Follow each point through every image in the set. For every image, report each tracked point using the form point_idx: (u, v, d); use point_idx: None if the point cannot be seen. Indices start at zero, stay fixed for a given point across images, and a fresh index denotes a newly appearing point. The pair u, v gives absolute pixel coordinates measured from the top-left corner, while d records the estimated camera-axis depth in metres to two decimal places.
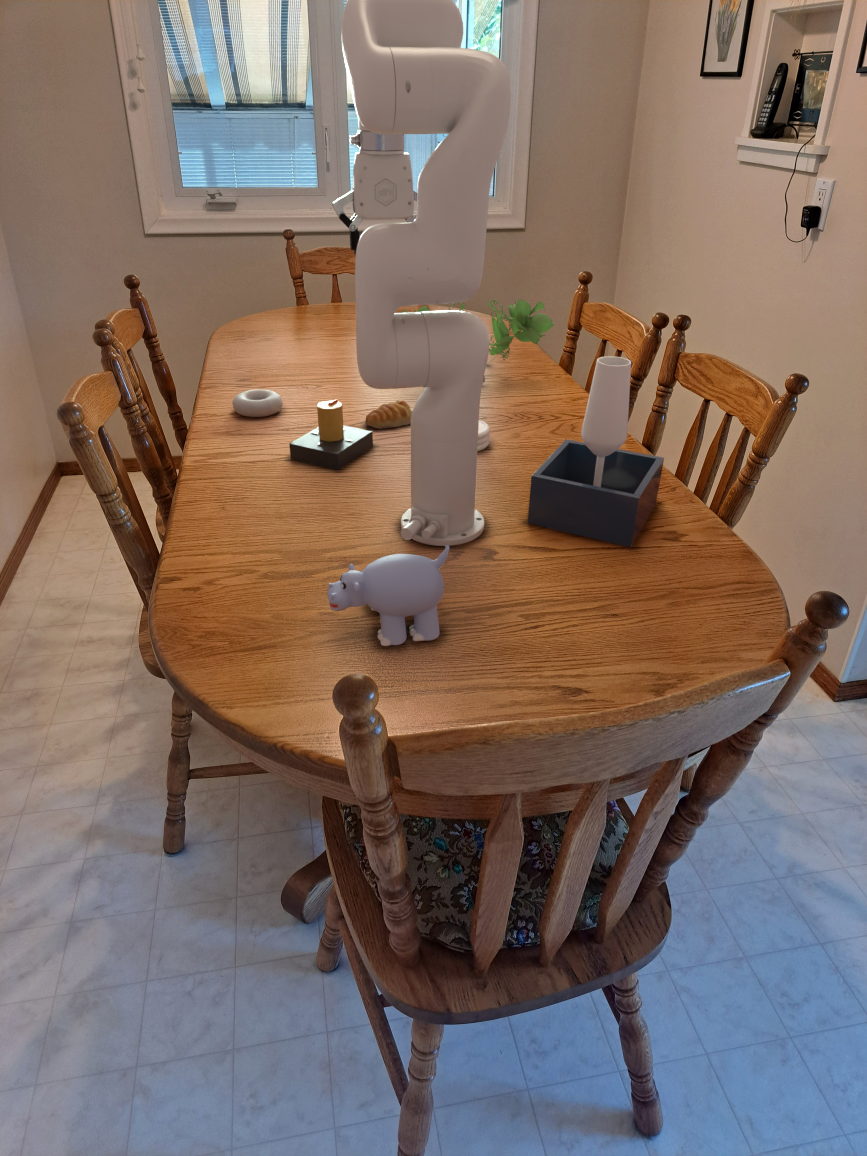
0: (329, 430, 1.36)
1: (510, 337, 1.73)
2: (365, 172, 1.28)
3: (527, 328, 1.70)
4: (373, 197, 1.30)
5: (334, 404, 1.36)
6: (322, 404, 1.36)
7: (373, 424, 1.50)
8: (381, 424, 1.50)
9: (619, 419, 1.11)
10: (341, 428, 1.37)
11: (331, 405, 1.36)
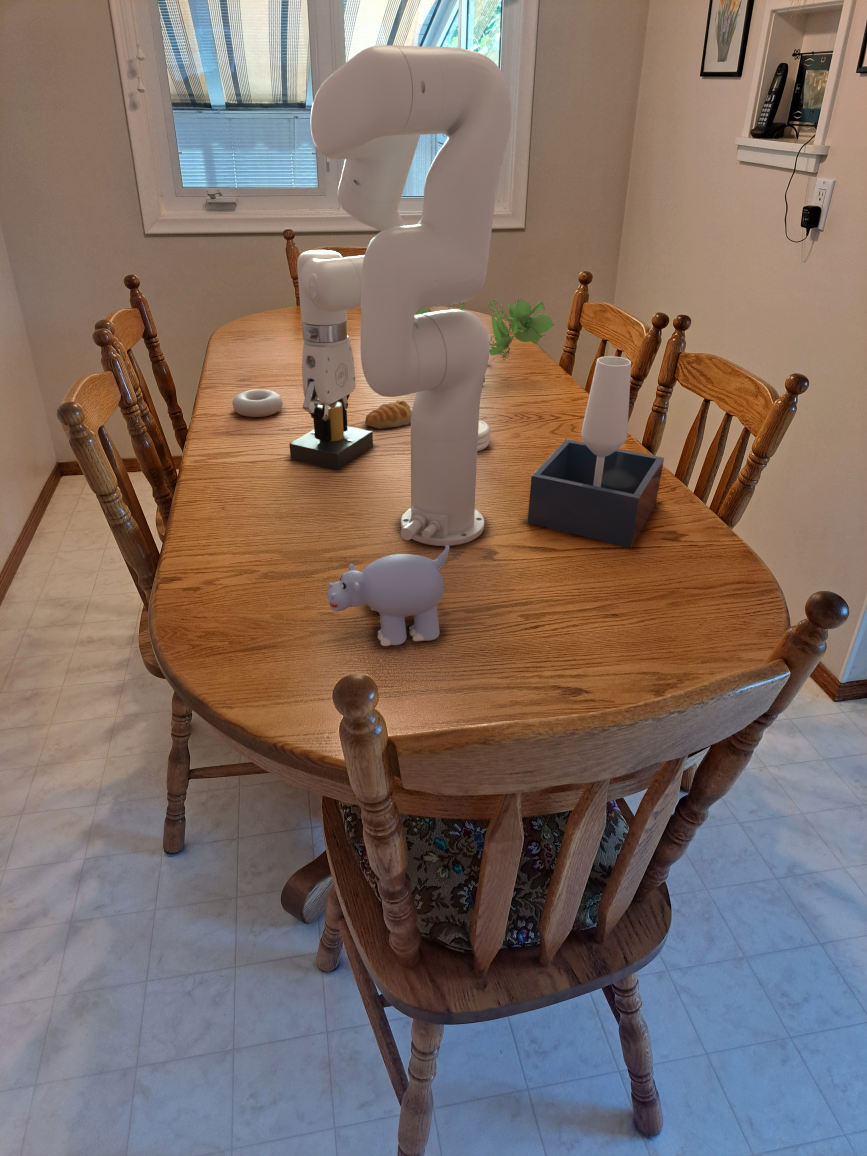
0: None
1: (510, 337, 1.73)
2: (329, 362, 1.28)
3: (527, 328, 1.70)
4: (335, 383, 1.31)
5: (334, 404, 1.36)
6: None
7: (373, 424, 1.50)
8: (381, 424, 1.50)
9: (619, 419, 1.11)
10: (341, 428, 1.37)
11: (331, 405, 1.36)
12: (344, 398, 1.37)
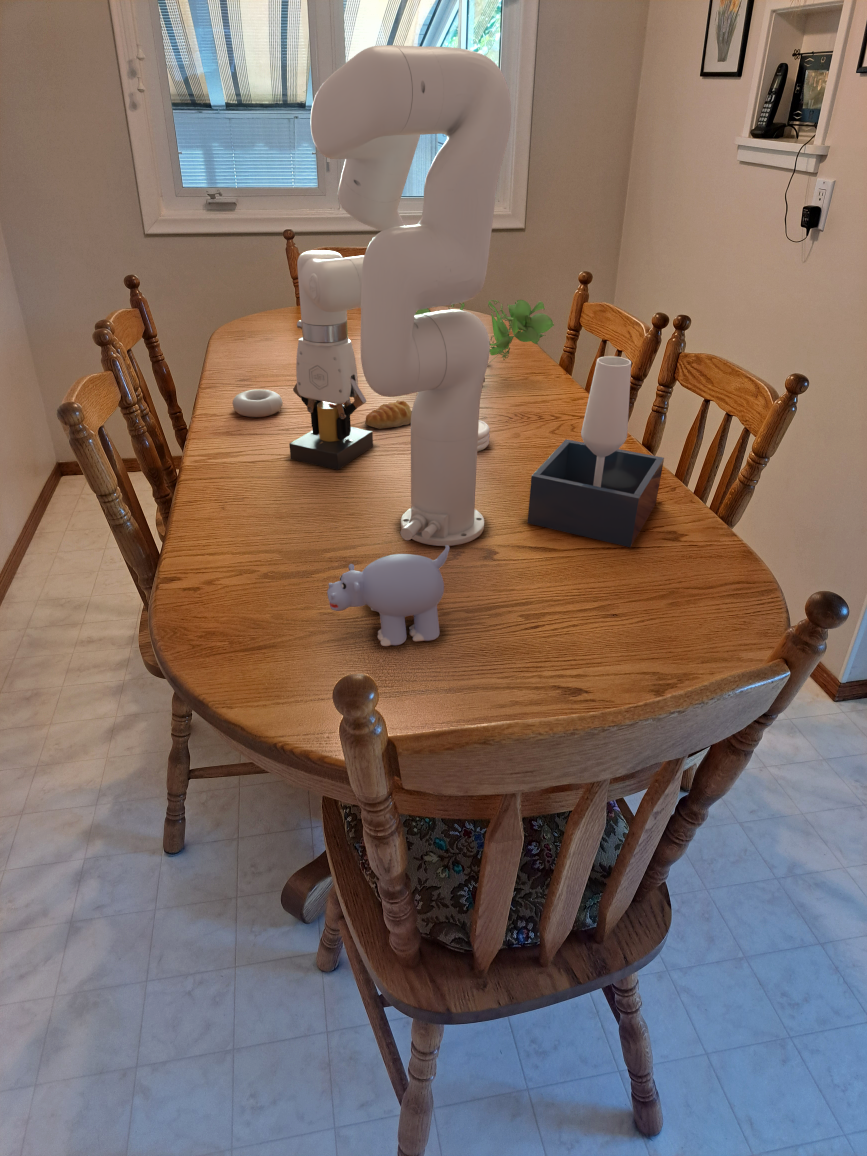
0: (318, 425, 1.38)
1: (510, 337, 1.73)
2: (301, 356, 1.31)
3: (527, 328, 1.70)
4: (308, 380, 1.32)
5: (328, 406, 1.35)
6: None
7: (373, 424, 1.50)
8: (381, 424, 1.50)
9: (619, 419, 1.11)
10: (324, 430, 1.37)
11: (326, 405, 1.36)
12: (338, 406, 1.34)
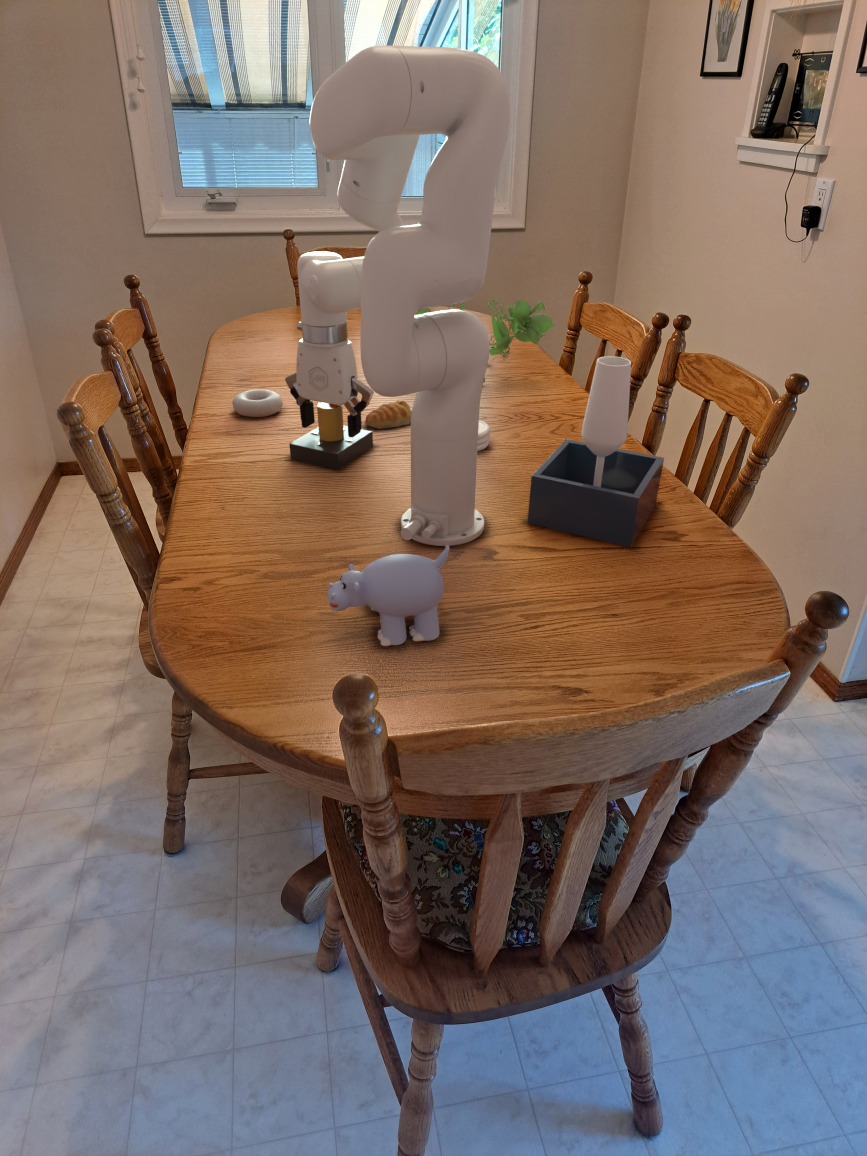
0: (318, 425, 1.38)
1: (510, 337, 1.73)
2: (301, 358, 1.31)
3: (527, 328, 1.70)
4: (308, 381, 1.32)
5: (328, 406, 1.35)
6: None
7: (373, 424, 1.50)
8: (381, 424, 1.50)
9: (619, 419, 1.11)
10: (324, 430, 1.37)
11: (326, 405, 1.36)
12: (349, 403, 1.32)
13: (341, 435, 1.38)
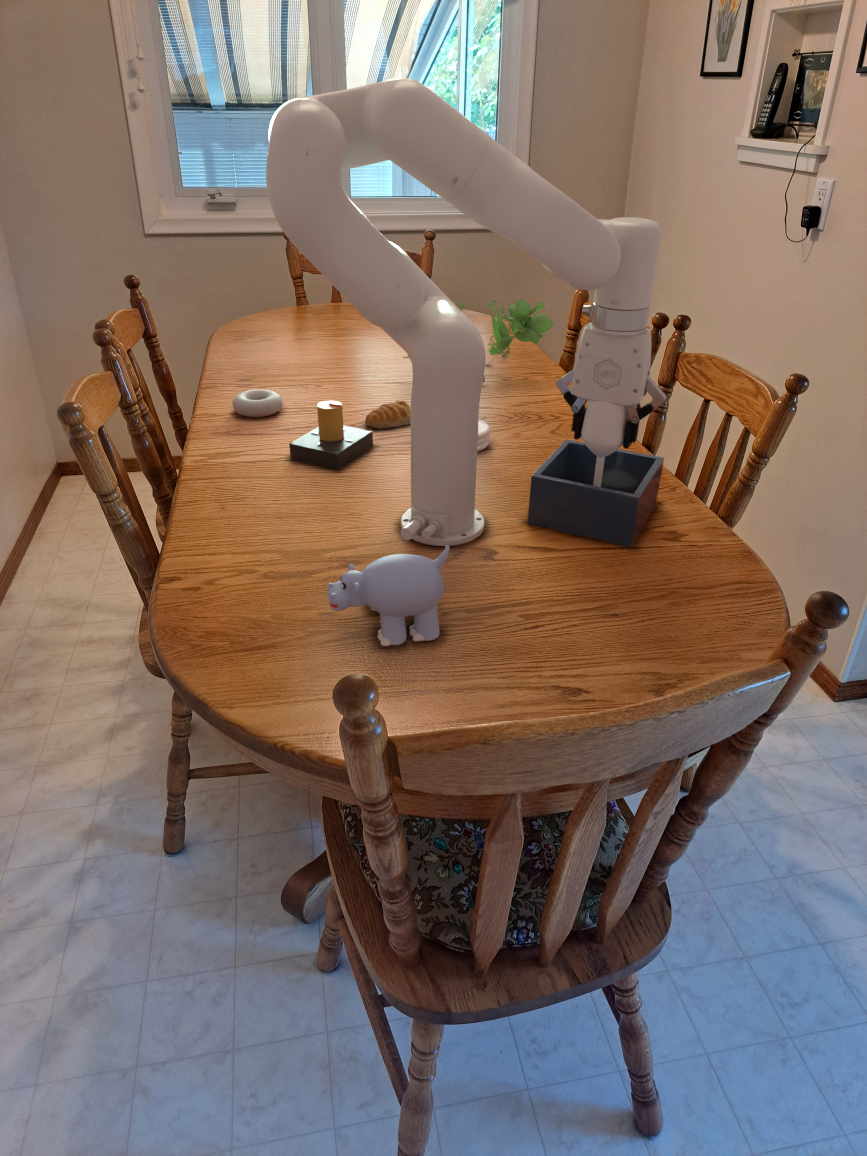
0: (318, 425, 1.38)
1: (510, 337, 1.73)
2: (587, 349, 1.07)
3: (527, 328, 1.70)
4: (592, 377, 1.09)
5: (328, 406, 1.35)
6: (331, 402, 1.37)
7: (373, 424, 1.50)
8: (381, 424, 1.50)
9: (619, 419, 1.11)
10: (324, 430, 1.37)
11: (326, 405, 1.36)
12: (632, 408, 1.10)
13: (341, 435, 1.38)
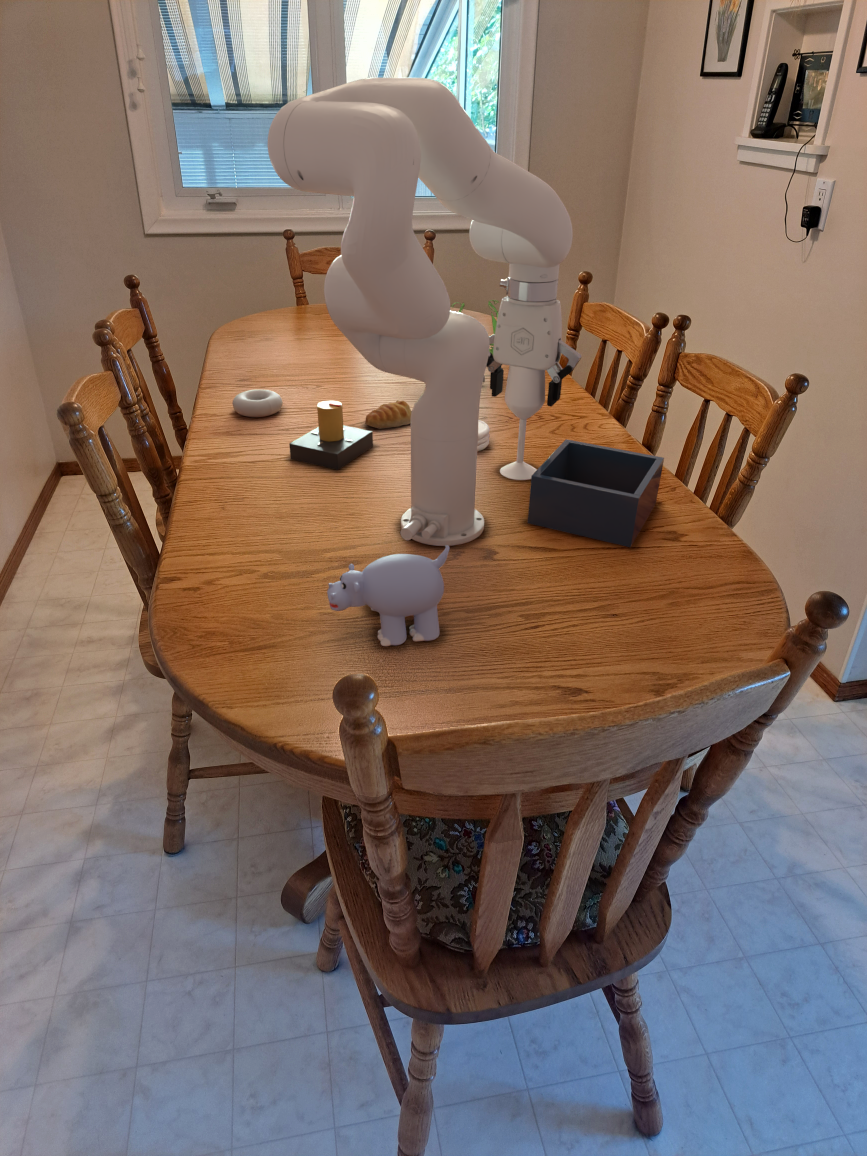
0: (318, 425, 1.38)
1: None
2: (504, 318, 1.20)
3: None
4: (509, 344, 1.21)
5: (328, 406, 1.35)
6: (331, 402, 1.37)
7: (373, 424, 1.50)
8: (381, 424, 1.50)
9: (535, 383, 1.24)
10: (324, 430, 1.37)
11: (326, 405, 1.36)
12: (553, 369, 1.22)
13: (341, 435, 1.38)
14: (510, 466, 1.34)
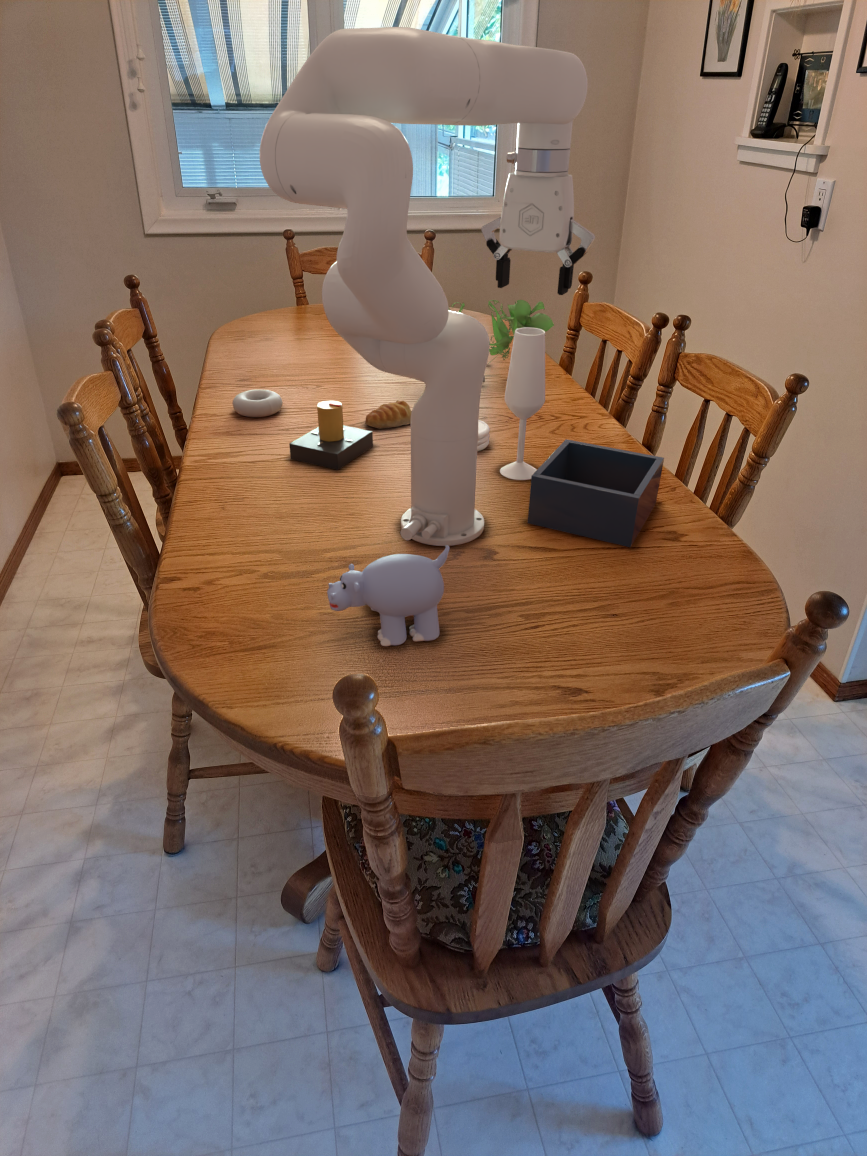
0: (318, 425, 1.38)
1: (510, 337, 1.73)
2: (511, 195, 1.11)
3: None
4: (517, 224, 1.12)
5: (328, 406, 1.35)
6: (331, 402, 1.37)
7: (373, 424, 1.50)
8: (381, 424, 1.50)
9: (535, 383, 1.24)
10: (324, 430, 1.37)
11: (326, 405, 1.36)
12: (565, 251, 1.12)
13: (341, 435, 1.38)
14: (510, 466, 1.34)
